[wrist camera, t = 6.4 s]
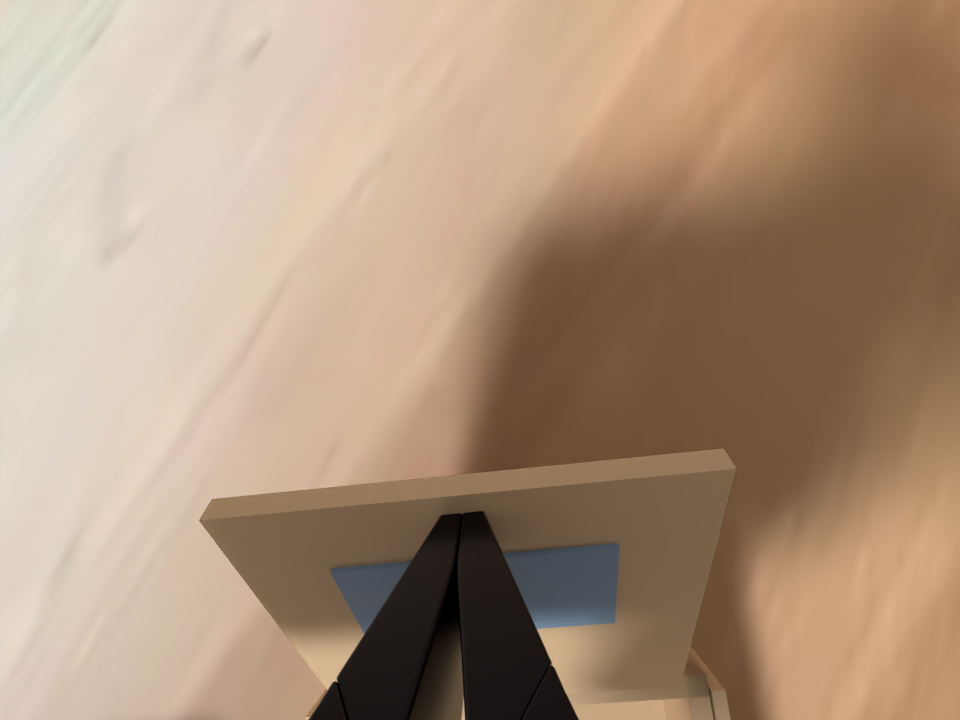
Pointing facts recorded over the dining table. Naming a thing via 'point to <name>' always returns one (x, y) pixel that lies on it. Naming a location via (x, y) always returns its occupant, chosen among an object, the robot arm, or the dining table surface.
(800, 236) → the dining table surface
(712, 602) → the dining table surface
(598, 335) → the dining table surface
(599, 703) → the beige open tray
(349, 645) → the far flap
